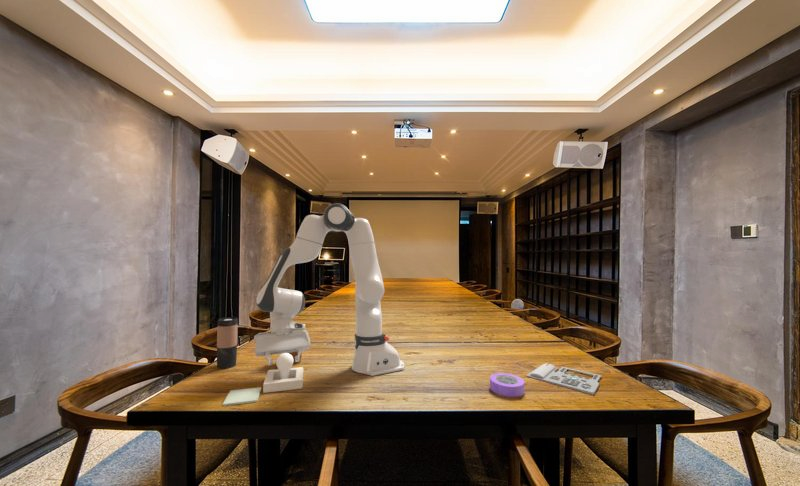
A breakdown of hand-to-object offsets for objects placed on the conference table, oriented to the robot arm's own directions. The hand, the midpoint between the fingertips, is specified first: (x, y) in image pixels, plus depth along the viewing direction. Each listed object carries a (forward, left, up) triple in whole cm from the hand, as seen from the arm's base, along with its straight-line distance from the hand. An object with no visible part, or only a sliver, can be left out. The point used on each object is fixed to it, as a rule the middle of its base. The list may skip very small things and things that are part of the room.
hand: (284, 362), depth 116 cm
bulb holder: (0, +1, -7) cm, 7 cm away
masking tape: (-77, +28, -8) cm, 82 cm away
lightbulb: (0, +1, -7) cm, 7 cm away
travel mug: (+25, -24, -7) cm, 35 cm away
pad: (+12, +9, -7) cm, 17 cm away
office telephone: (-106, +25, -8) cm, 109 cm away
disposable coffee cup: (-2, -21, -7) cm, 23 cm away
